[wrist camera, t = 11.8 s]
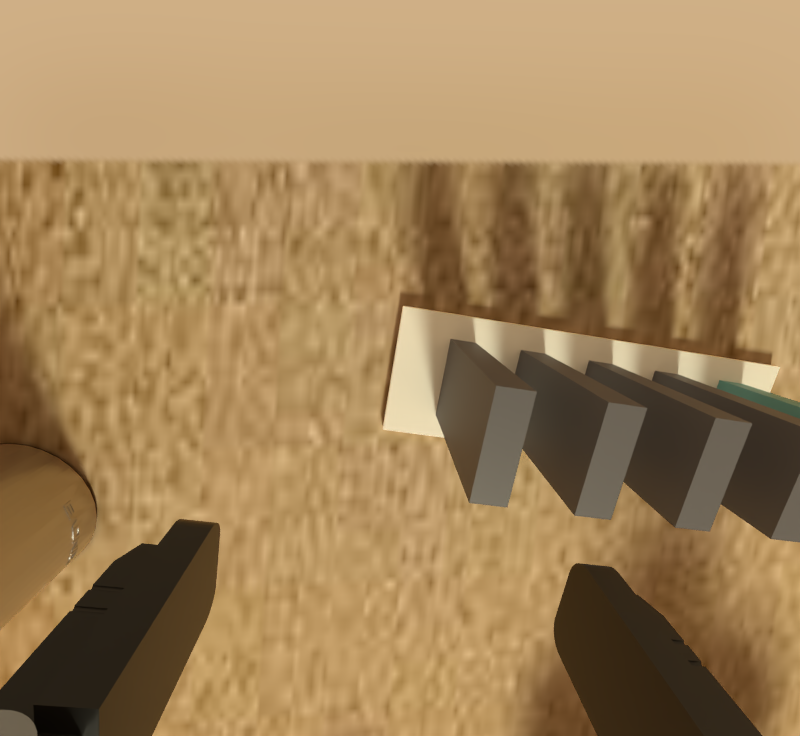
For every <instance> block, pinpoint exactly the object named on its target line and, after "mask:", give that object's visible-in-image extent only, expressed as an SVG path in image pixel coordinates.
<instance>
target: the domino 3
mask: <svg viewBox="0 0 800 736" xmlns="http://www.w3.org/2000/svg"><path fill="white" fill-rule="evenodd" d="M585 375H586V376H588V377H590V378H592V379H594V380H596V381H598V382H600V383H601V384H603V385H605V386H607V387H609V388H611V389H613V390H615V391H616V392H618V393H620V394H622V395H624V396H626V397H628V398H630V399H631V400H633V401H635V402H637V403H639V404H641V405H643V406H645V407H646V408H647V411H646V414H645V417H644V420H643V423H642V426H641V429H640V432H639V435H638V438H637V441H636V444H635V447H634V451H633V454H632V457H631V460H630V463H629V466H628V469H627V472H626V475H625V478H624V481H623V482H624V483H625V484H627V485H628V486H629V487H630V488H631V489H632V490H633V491H634V492H636V493H637V494H638V495H639V496H640V497H641V498H642V499H643V500H645V501H646V502H647V503H648V504H649V505H650V506H651V507H653V508H654V509H655V510H656V511H657V512H658V513H659V514H660V515H662V516H663V517H664V518H665V519H666V520H667V521H668V522H669V523H671V524H672V525H673V526H674V527H675V528H684V529H692V530H701V531H709V532H710V529H711V527H712V524H713V522H714V519H715V517H716V514H717V512H718V509H719V507H720V504H721V502H722V499H723V497H724V494H725V491H726V489H727V486H728V484H729V481H730V479H731V476H732V474H733V471H734V469H735V466H736V464H737V461H738V459H739V456H740V454H741V451H742V449H743V446H744V444H745V441H746V438H747V436H748V433H749V431H750V428H751V426H752V423H750V422H748V421H746V420H743V419H741V418H739V417H736V416H734V415H732V414H729V413H727V412H725V411H722V410H720V409H717V408H715V407H713V406H710V405H708V404H706V403H703V402H701V401H699V400H696V399H694V398H692V397H689V396H687V395H684V394H682V393H680V392H677V391H675V390H673V389H670V388H668V387H666V386H663V385H661V384H659V383H656V382H654V381H651V380H649V379H647V378H644V377H642V376H640V375H637V374H635V373H633V372H630V371H628V370H626V369H623V368H621V367H618V366H616V365H614V364H609V363H603V362H596V361H590V360H589V362H588V365H587V369H586V373H585Z"/></svg>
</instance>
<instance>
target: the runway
mask: <svg viewBox="0 0 800 736" xmlns="http://www.w3.org/2000/svg"><path fill="white" fill-rule="evenodd" d="M450 339H455V340H462V341H468V342H474V343H477V344H478V345H479V346H481V347H482V348H483V349H484V350H486V351H487V352H488V353H489V354H491V355H492V356H493V357H494V358H496V359H497V360H498V361H499V362H501V363H502V364H503V365H504V366H506V367H507V368H508V369H509V370H511V371H512V372H513V373H514V374H515V372H516V368H517V364H518V360H519V355H520V351H521V350H525V351H532V352H538V353H545V354H547V355H549V356H551V357H553V358H554V359H556V360H558V361H560V362H562V363H564V364H566V365H568V366H570V367H571V368H573V369H575V370H577V371H579V372H581V373H583V374H585V373H586V369H587V365H588V362H589V360H590V361H596V362H603V363H609V364H614V365H616V366H618V367H621V368H623V369H626V370H628V371H630V372H633V373H635V374H637V375H640V376H642V377H644V378H647V379H649V380H651V381H652V378H653V375H654V372H655V371H660V372H667V373H673V374H679V375H681V376H684V377H687V378H690V379H692V380H695V381H698V382H701V383H703V384H706V385H709V386H711V387H714V388H717V385H718V383H719V380H722V381H728V382H735V383H741V384H745V385H748V386H751V387H754V388H757V389H760V390H763V391H766V392H769V393H770V391H771V389H772V386H773V384H774V381H775V379H776V376H777V374H778V371H779V369H780V367H778V366H774V365H769V364H763V363H757V362H751V361H744V360H738V359H732V358H726V357H720V356H713V355H707V354H701V353H695V352H689V351H683V350H676V349H670V348H664V347H658V346H652V345H645V344H639V343H633V342H627V341H621V340H615V339H608V338H602V337H596V336H590V335H584V334H577V333H571V332H565V331H559V330H553V329H547V328H540V327H534V326H528V325H522V324H516V323H509V322H503V321H497V320H491V319H485V318H479V317H472V316H466V315H460V314H454V313H448V312H441V311H435V310H429V309H423V308H417V307H411V306H404V305H403V307H402V313H401V319H400V325H399V331H398V337H397V343H396V349H395V355H394V361H393V367H392V373H391V379H390V385H389V391H388V397H387V403H386V409H385V416H384V422H383V430H390V431H397V432H405V433H412V434H420V435H427V436H435V437H442V438H444V435H443V433H442V430H441V427H440V425H439V422H438V419H437V417H436V410H437V405H438V400H439V395H440V390H441V385H442V380H443V375H444V370H445V365H446V360H447V354H448V349H449V344H450Z"/></svg>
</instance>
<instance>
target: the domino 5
mask: <svg viewBox="0 0 800 736" xmlns="http://www.w3.org/2000/svg"><path fill="white" fill-rule="evenodd" d="M652 381H654V382H656V383H659V384H661V385H663V386H666V387H668V388H670V389H673V390H675V391H677V392H680V393H682V394H684V395H687V396H689V397H692V398H694V399H696V400H699V401H701V402H703V403H706V404H708V405H710V406H713V407H715V408H717V409H720V410H722V411H725V412H727V413H729V414H732V415H734V416H736V417H739V418H741V419H743V420H746V421H748V422H750V423H752V426H751V428H750V431H749V433H748V436H747V438H746V441H745V444H744V446H743V449H742V451H741V454H740V456H739V459H738V461H737V464H736V466H735V469H734V471H733V474H732V476H731V479H730V481H729V484H728V486H727V489H726V491H725V494H724V497H723V499H722V502H721V504H722V505H723V506H725V507H726V508H727V509H729V510H730V511H732V512H733V513H735V514H736V515H737V516H739V517H740V518H742V519H743V520H745V521H746V522H747V523H749V524H750V525H752V526H753V527H755V528H756V529H757V530H759V531H760V532H762V533H763V534H765V535H766V536H767V537H769V538H770V539H776V540H784V541H793V542H800V419H799V418H796V417H794V416H791V415H788V414H785V413H783V412H780V411H777V410H774V409H772V408H769V407H766V406H763V405H761V404H758V403H755V402H753V401H750V400H747V399H744V398H742V397H739V396H736V395H733V394H731V393H728V392H725V391H722V390H720V389H717V388H714V387H711V386H709V385H706V384H703V383H701V382H698V381H695V380H692V379H690V378H687V377H684V376H681V375H679V374H673V373H667V372H660V371H655V372H654V375H653V378H652Z"/></svg>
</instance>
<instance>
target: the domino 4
mask: <svg viewBox="0 0 800 736" xmlns="http://www.w3.org/2000/svg"><path fill="white" fill-rule="evenodd" d="M717 389H720V390H722V391H725V392H728V393H731V394H733V395H736V396H739V397H742V398H744V399H747V400H750V401H753V402H755V403H758V404H761V405H763V406H766V407H769V408H772V409H774V410H777V411H780V412H783V413H785V414H788V415H791V416H794V417H796V418H799V419H800V402H797V401H794V400H790V399H787V398H784V397H781V396H778V395H775V394H772V393H769V392H766V391H763V390H760V389H757V388H754V387H751V386H748V385H745V384H741V383H735V382H728V381H722V380H719V383H718V385H717Z"/></svg>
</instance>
